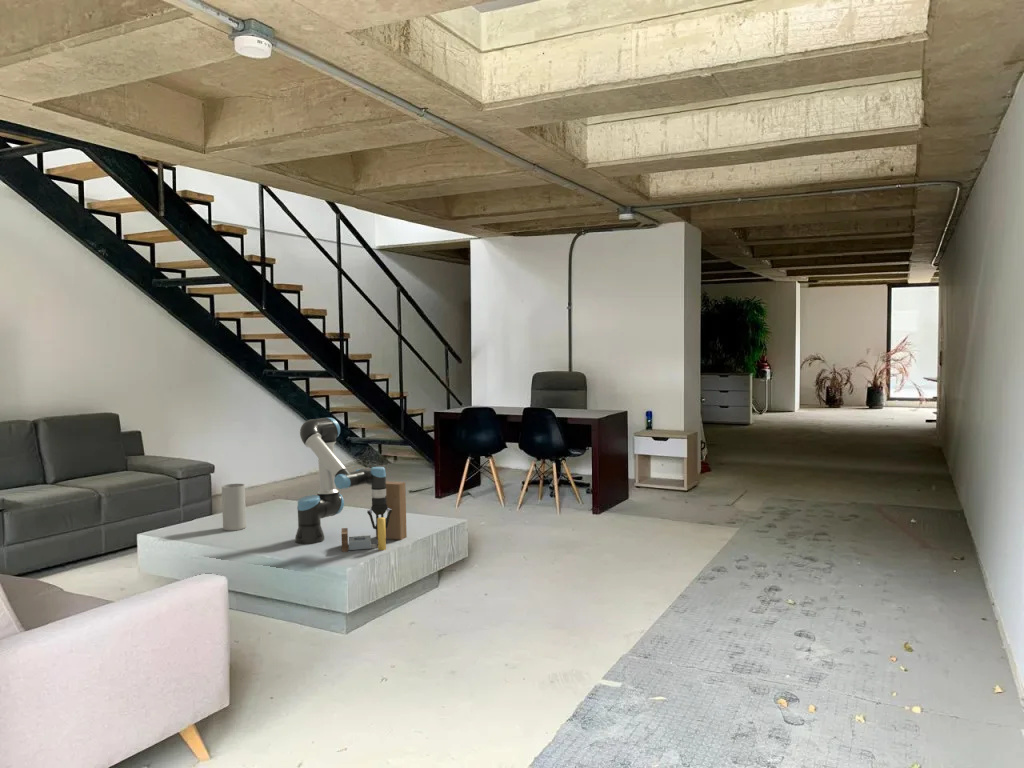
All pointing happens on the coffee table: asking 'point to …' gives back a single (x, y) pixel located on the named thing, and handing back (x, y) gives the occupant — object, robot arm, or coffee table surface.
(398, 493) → the decorative block
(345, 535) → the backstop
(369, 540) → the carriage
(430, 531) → the coffee table surface
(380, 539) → the dowel
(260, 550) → the coffee table surface
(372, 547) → the dark grey flat board
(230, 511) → the cylinder vase
